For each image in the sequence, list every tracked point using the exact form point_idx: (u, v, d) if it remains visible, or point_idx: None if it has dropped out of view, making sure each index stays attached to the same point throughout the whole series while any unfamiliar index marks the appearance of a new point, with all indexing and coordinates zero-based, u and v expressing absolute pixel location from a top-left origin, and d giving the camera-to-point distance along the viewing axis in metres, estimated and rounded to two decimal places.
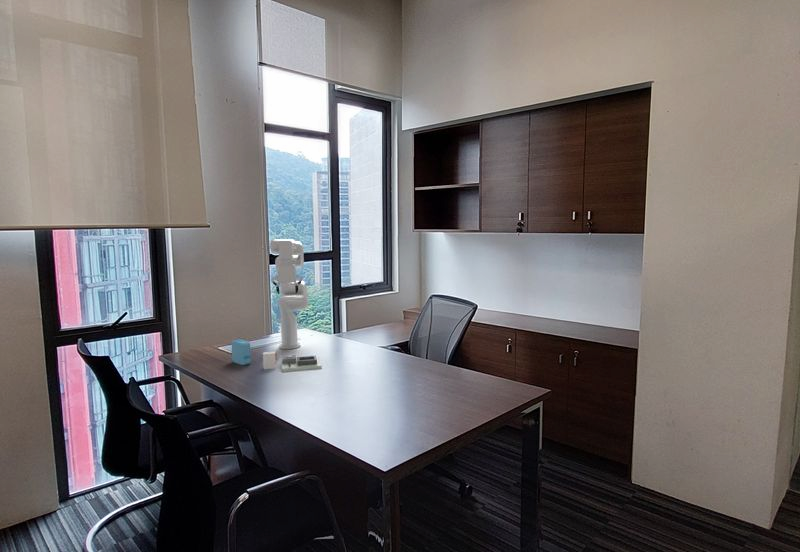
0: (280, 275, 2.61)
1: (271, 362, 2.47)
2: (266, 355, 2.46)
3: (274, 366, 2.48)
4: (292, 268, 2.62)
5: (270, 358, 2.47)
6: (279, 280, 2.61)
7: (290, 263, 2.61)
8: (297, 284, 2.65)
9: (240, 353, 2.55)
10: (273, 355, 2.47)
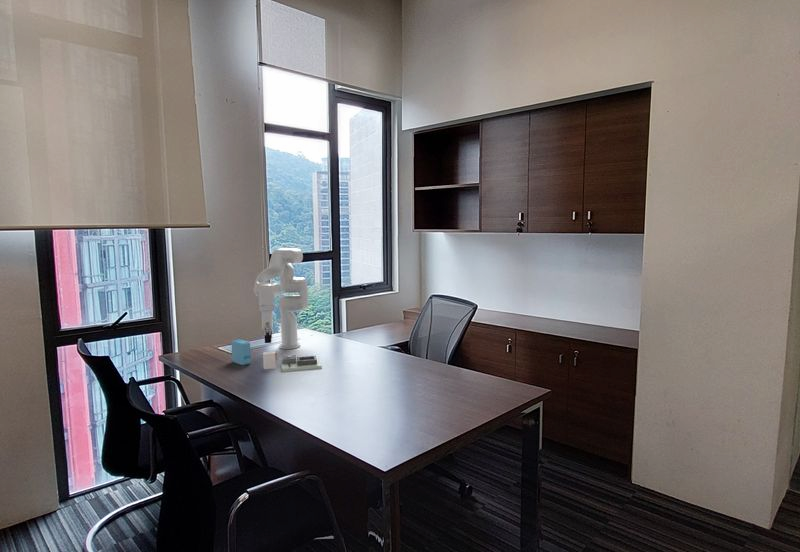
0: (271, 322, 2.43)
1: (271, 362, 2.47)
2: (266, 355, 2.46)
3: (274, 366, 2.48)
4: None
5: (270, 358, 2.47)
6: (271, 327, 2.43)
7: None
8: None
9: (240, 353, 2.55)
10: (273, 355, 2.47)
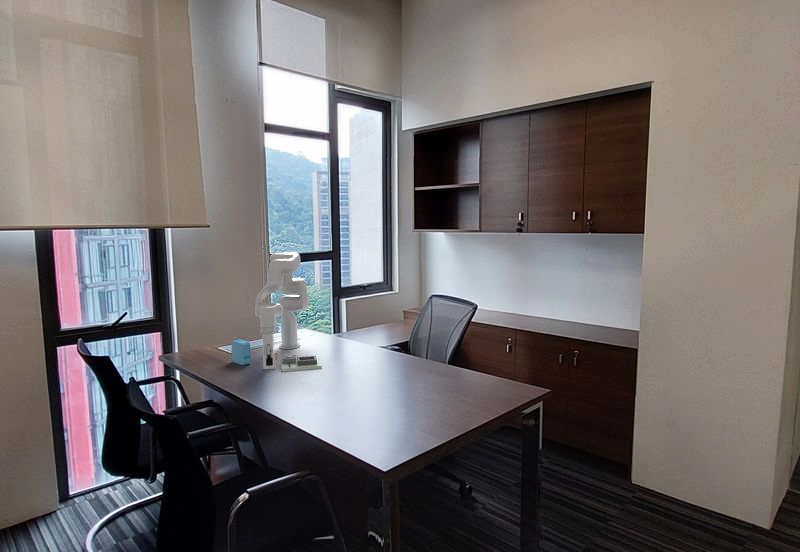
0: (273, 344, 2.45)
1: None
2: None
3: (274, 366, 2.48)
4: None
5: None
6: (272, 349, 2.45)
7: None
8: None
9: (240, 353, 2.55)
10: (273, 355, 2.47)
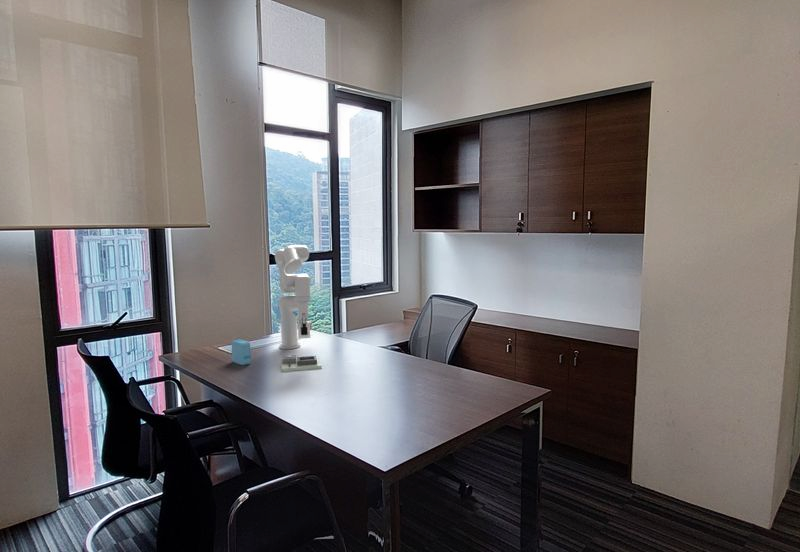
0: None
1: None
2: None
3: (309, 335, 2.49)
4: None
5: None
6: (307, 318, 2.46)
7: None
8: None
9: (240, 353, 2.55)
10: (308, 324, 2.48)
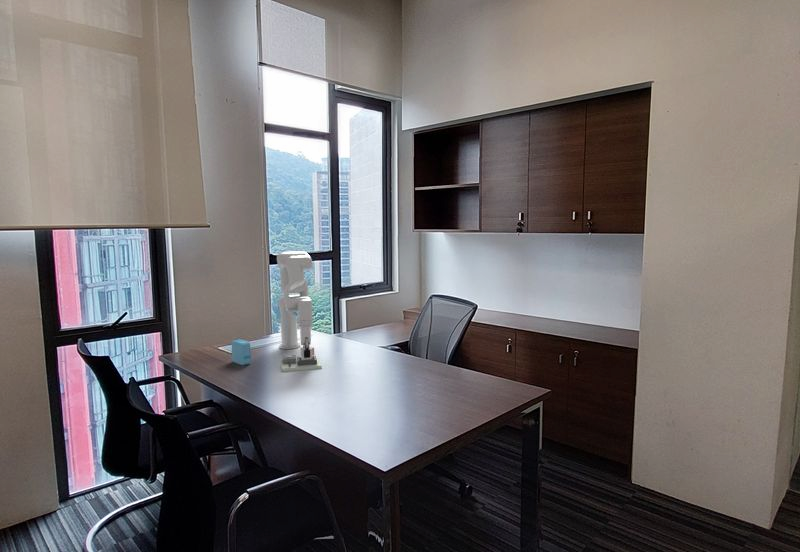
0: (310, 337, 2.47)
1: (308, 358, 2.50)
2: (303, 350, 2.49)
3: None
4: None
5: None
6: (310, 342, 2.47)
7: None
8: None
9: (240, 353, 2.55)
10: (310, 350, 2.50)
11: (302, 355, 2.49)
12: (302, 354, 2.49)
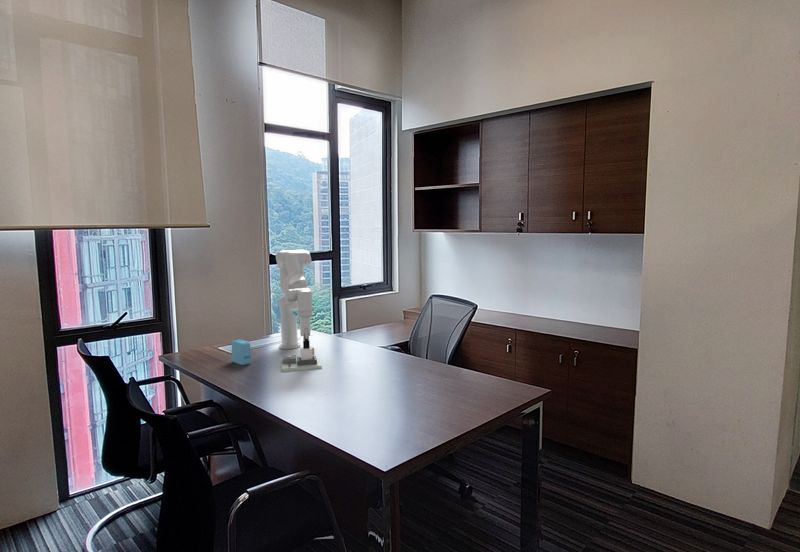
0: (310, 328, 2.47)
1: (308, 358, 2.50)
2: (303, 350, 2.49)
3: None
4: None
5: (308, 353, 2.49)
6: None
7: None
8: None
9: (240, 353, 2.55)
10: (310, 350, 2.50)
11: (302, 355, 2.49)
12: (302, 354, 2.49)
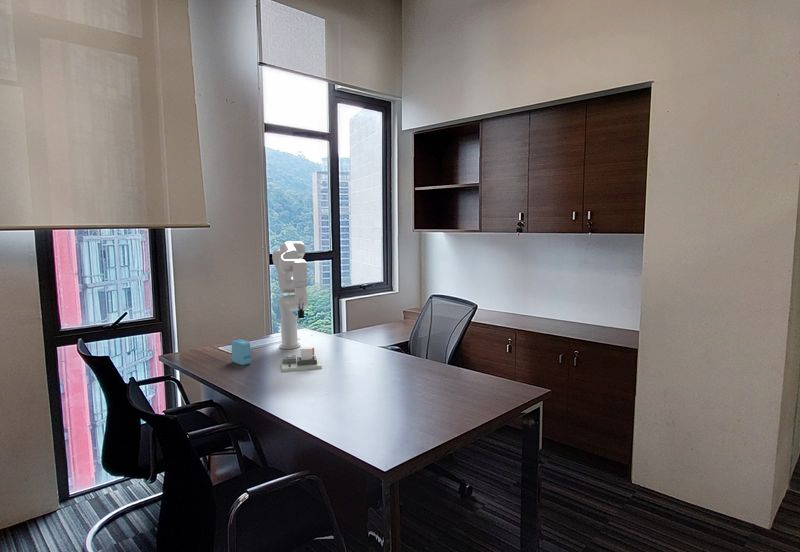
0: (305, 298, 2.53)
1: (308, 358, 2.50)
2: (303, 350, 2.49)
3: None
4: None
5: (308, 353, 2.49)
6: (304, 303, 2.53)
7: None
8: None
9: (240, 353, 2.55)
10: (310, 350, 2.50)
11: (302, 355, 2.49)
12: (302, 354, 2.49)
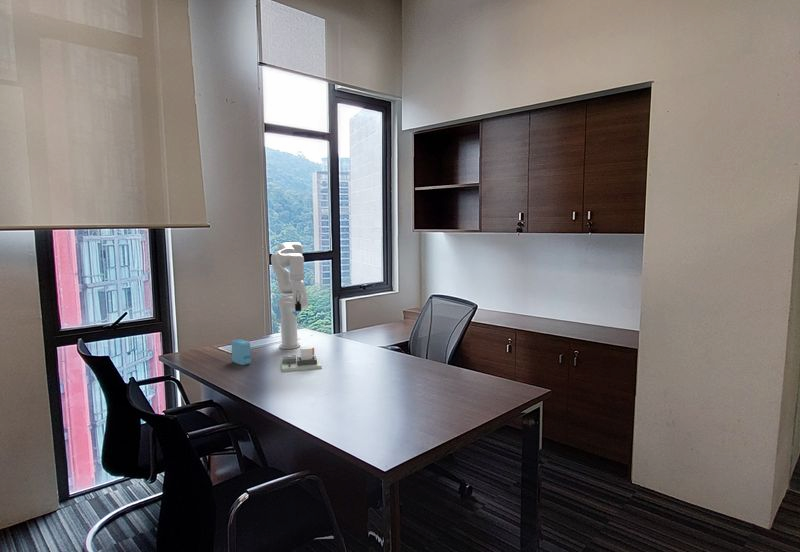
0: (302, 291, 2.58)
1: (308, 358, 2.50)
2: (303, 350, 2.49)
3: None
4: None
5: (308, 353, 2.49)
6: (301, 296, 2.57)
7: None
8: None
9: (240, 353, 2.55)
10: (310, 350, 2.50)
11: (302, 355, 2.49)
12: (302, 354, 2.49)
